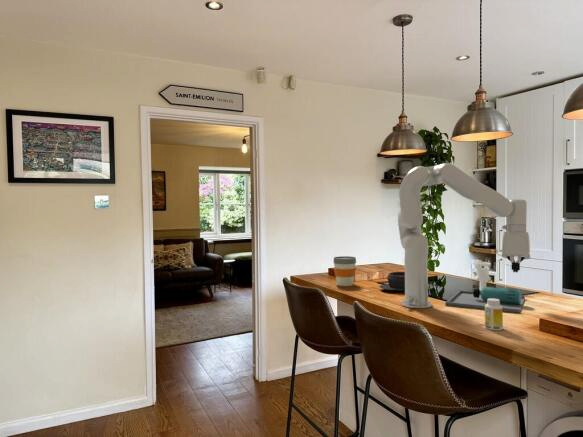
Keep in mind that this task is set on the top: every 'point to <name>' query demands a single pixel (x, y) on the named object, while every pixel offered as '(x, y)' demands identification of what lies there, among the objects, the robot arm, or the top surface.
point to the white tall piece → (482, 273)
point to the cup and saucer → (395, 282)
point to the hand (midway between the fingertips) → (515, 271)
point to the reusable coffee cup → (344, 270)
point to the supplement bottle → (493, 314)
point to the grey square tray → (479, 302)
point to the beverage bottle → (499, 294)
